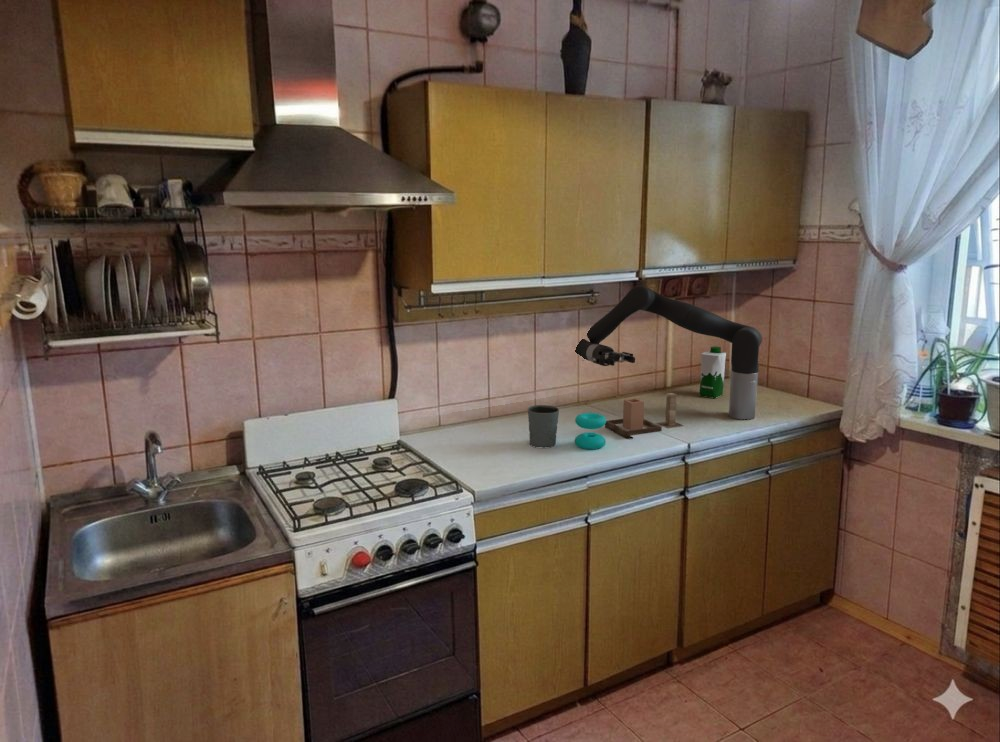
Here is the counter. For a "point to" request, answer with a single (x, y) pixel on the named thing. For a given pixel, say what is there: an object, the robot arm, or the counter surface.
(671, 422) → the post
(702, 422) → the counter surface
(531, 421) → the grey tapered cup
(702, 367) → the milk carton
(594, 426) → the donuts
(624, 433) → the tray
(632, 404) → the sleeve
